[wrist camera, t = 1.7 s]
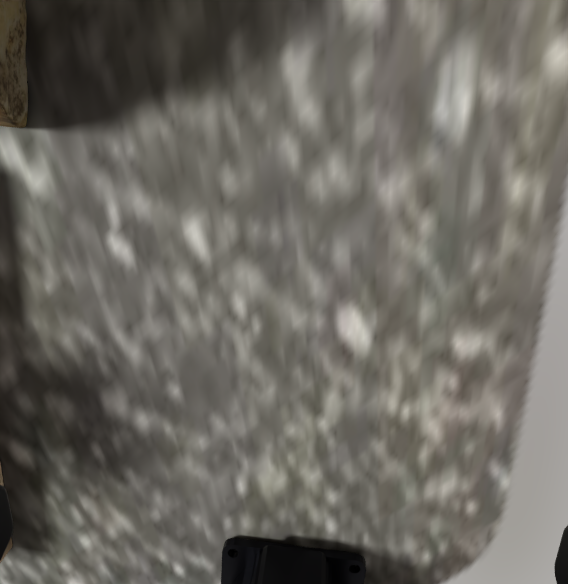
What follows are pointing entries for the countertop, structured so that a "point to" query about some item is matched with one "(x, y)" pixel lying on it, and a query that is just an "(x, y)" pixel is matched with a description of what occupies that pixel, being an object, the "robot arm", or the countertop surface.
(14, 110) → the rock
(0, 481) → the wooden u-shaped frame
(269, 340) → the countertop surface
